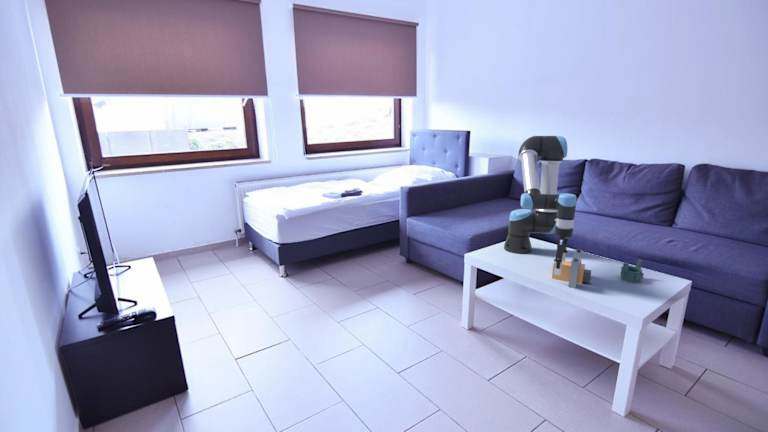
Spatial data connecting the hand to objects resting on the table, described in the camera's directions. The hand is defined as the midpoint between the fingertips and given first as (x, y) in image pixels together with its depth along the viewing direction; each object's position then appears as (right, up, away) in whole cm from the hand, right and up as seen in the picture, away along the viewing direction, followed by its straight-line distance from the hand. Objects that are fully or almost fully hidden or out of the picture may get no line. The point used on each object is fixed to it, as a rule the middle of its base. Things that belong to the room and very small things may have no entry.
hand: (559, 269), depth 185 cm
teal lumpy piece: (+33, -4, -1) cm, 34 cm away
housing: (+6, -5, -2) cm, 8 cm away
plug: (+5, -5, -2) cm, 7 cm away
